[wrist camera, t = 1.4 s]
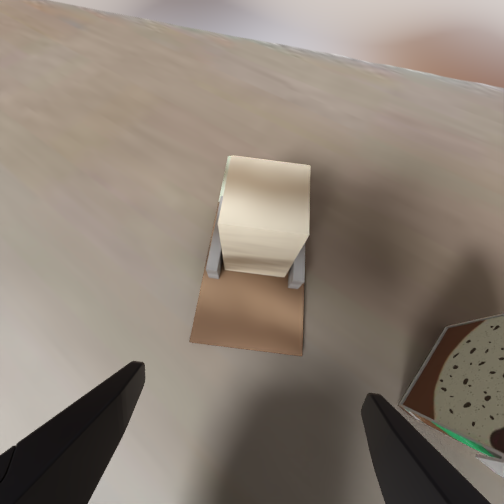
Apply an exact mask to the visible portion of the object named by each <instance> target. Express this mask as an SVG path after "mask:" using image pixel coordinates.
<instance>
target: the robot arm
mask: <svg viewBox="0 0 504 504" xmlns="http://www.w3.org/2000/svg"><path fill="white" fill-rule="evenodd" d="M144 383H145V364H144V363H143V362H138V361H132V362H130V363H129V364H127V365H126V366H125V367H123V368H122V369H120V370H119V371H118V372H116V373H115V374H113V375H112V376H111V377H109V378H108V379H106V380H105V381H104V382H102V383H101V384H99V385H98V386H97V387H95V388H94V389H92V390H91V391H90V392H88V393H87V394H85V395H84V396H83V397H81V398H80V399H78V400H77V401H76V402H74V403H73V404H71V405H70V406H69V407H67V408H66V409H64V410H63V411H62V412H60V413H59V414H57V415H56V416H55V417H53V418H52V419H50V420H49V421H48V422H46V423H45V424H43V425H42V426H41V427H39V428H38V429H36V430H35V431H34V432H32V433H31V434H29V435H28V436H27V437H25V438H24V439H22V440H21V441H20V442H18V443H17V445H16V446H12V447H11V448H10V449H8V450H7V451H5V452H4V453H3V454H1V455H0V504H88V502H89V500H90V498H91V496H92V494H93V492H94V490H95V488H96V487H97V485H98V483H99V481H100V479H101V477H102V475H103V473H104V471H105V469H106V467H107V465H108V463H109V462H110V460H111V458H112V456H113V454H114V452H115V450H116V448H117V446H118V444H119V442H120V440H121V438H122V436H123V434H124V432H125V430H126V428H127V425H128V423H129V421H130V418H131V416H132V413H133V411H134V408H135V406H136V403H137V401H138V399H139V396H140V394H141V391H142V389H143V386H144ZM361 415H362V420H363V424H364V428H365V433H366V437H367V441H368V445H369V450H370V454H371V458H372V462H373V466H374V469H375V473H376V476H377V479H378V482H379V485H380V488H381V491H382V495H383V498H384V501H385V504H491V503H490V502H489V501H488V500H487V499H486V498H485V497H484V496H483V495H482V494H481V493H480V492H479V491H478V490H477V489H476V488H475V487H474V486H473V485H472V484H470V483H469V482H468V481H467V480H466V479H465V478H464V477H463V476H462V475H461V474H460V473H459V472H458V471H457V470H456V469H455V468H454V467H453V466H452V465H451V464H450V463H449V462H448V461H447V460H446V459H445V458H444V457H443V456H442V455H441V454H440V453H439V452H438V451H437V450H436V449H435V448H434V447H433V446H432V445H431V444H430V443H429V442H428V441H427V440H426V439H425V438H424V437H423V436H422V435H421V434H420V433H419V432H418V431H417V430H416V429H415V428H414V427H413V426H412V425H411V424H410V423H409V422H408V421H407V420H406V419H405V418H404V417H403V416H402V415H401V414H400V413H399V412H398V411H397V410H396V409H395V408H394V407H393V406H392V405H391V404H390V403H389V402H388V401H387V400H386V399H385V398H384V397H383V396H381V395H380V394H375V393H368V394H367V396H366V398H365V401H364V403H363V406H362V409H361Z"/></svg>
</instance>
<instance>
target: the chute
mask: <svg viewBox="0 0 504 504" xmlns="http://www.w3.org/2000/svg"><path fill="white" fill-rule="evenodd" d="M230 160H231V156H228V159H227V164H226V169H225V173H224V178H223V183H222V188H221V193H220V197H219V202H218V207H217V212H216V217H215V221H214V226H213V231H212V236H211V241H210V245H209V250H208V255H207V260H206V265H205V269H204V274H203V279H202V284H201V289H200V293H199V298H198V303H197V308H196V312H195V317H194V322H193V327H192V332H191V336H190V341H189V342H192V343H200V344H208V345H216V346H224V347H231V348H239V349H247V350H255V351H263V352H271V353H279V354H287V355H295V356H302V346H303V306H304V277H305V243H304V245H303V247H302V248H301V250H300V252H299V253H298V255H297V257H296V259H295V260H294V262H293V264H292V265H291V267H290V269H289V271H288V272H287V274H286V276H285V277H277V276H269V275H261V274H253V273H245V272H237V271H229V270H225V268H224V262H223V255H222V249H221V242H220V236H219V229H218V219H219V215H220V210H221V205H222V200H223V195H224V190H225V185H226V180H227V175H228V170H229V165H230Z"/></svg>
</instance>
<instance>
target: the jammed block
mask: <svg viewBox="0 0 504 504" xmlns="http://www.w3.org/2000/svg"><path fill="white" fill-rule="evenodd" d="M309 218H310V165H304V164H296V163H288V162H280V161H272V160H265V159H257V158H249V157H241V156H233V155H231V160H230V165H229V170H228V175H227V180H226V185H225V190H224V195H223V200H222V205H221V210H220V215H219V219H218V229H219V236H220V242H221V249H222V255H223V262H224V268H225V270H229V271H237V272H245V273H253V274H261V275H269V276H277V277H285V276H286V274H287V272H288V271H289V269H290V267H291V265H292V264H293V262H294V260H295V259H296V257H297V255H298V253H299V252H300V250H301V248H302V247H303V245H304V243H305V242H306V240H307V238H308V236H309Z"/></svg>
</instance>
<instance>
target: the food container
mask: <svg viewBox="0 0 504 504" xmlns="http://www.w3.org/2000/svg"><path fill="white" fill-rule="evenodd" d="M398 406H399V407H400V408H402V409H403V410H404V411H405V412H406V413H408V414H409V415H410V416H412V417H414V418H416V419H418V420H420V421H422V422H423V423H425V424H427V425H429V426H431V427H433V428H435V429H437V430H439V431H441V432H443V433H445V434H447V435H449V436H450V437H452V438H454V439H456V440H458V441H460V442H462V443H464V444H466V445H468V446H470V447H472V448H474V449H476V450H477V451H479V452H481V453H483V454H485V455H487V456H483V455H478V454H476V458H477V459H479V460H480V461H481V462H482V463H483V464H485V465H486V466H487V467H488V468H490V469H491V470H492V471H493V472H495V473H497V474H498V475H500V476H501V477H503V478H504V313H501V314H496V315H492V316H488V317H483V318H479V319H475V320H470V321H466V322H461V323H457V324H453V325H448V326H446V327H445V328H444V330H443V332H442V333H441V335H440V337H439V338H438V340H437V342H436V343H435V345H434V347H433V348H432V350H431V351H430V353H429V355H428V356H427V358H426V360H425V361H424V363H423V365H422V366H421V368H420V370H419V371H418V373H417V375H416V376H415V378H414V380H413V381H412V383H411V385H410V386H409V388H408V390H407V391H406V393H405V395H404V396H403V398H402V400H401V401H400V403H399V405H398Z"/></svg>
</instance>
